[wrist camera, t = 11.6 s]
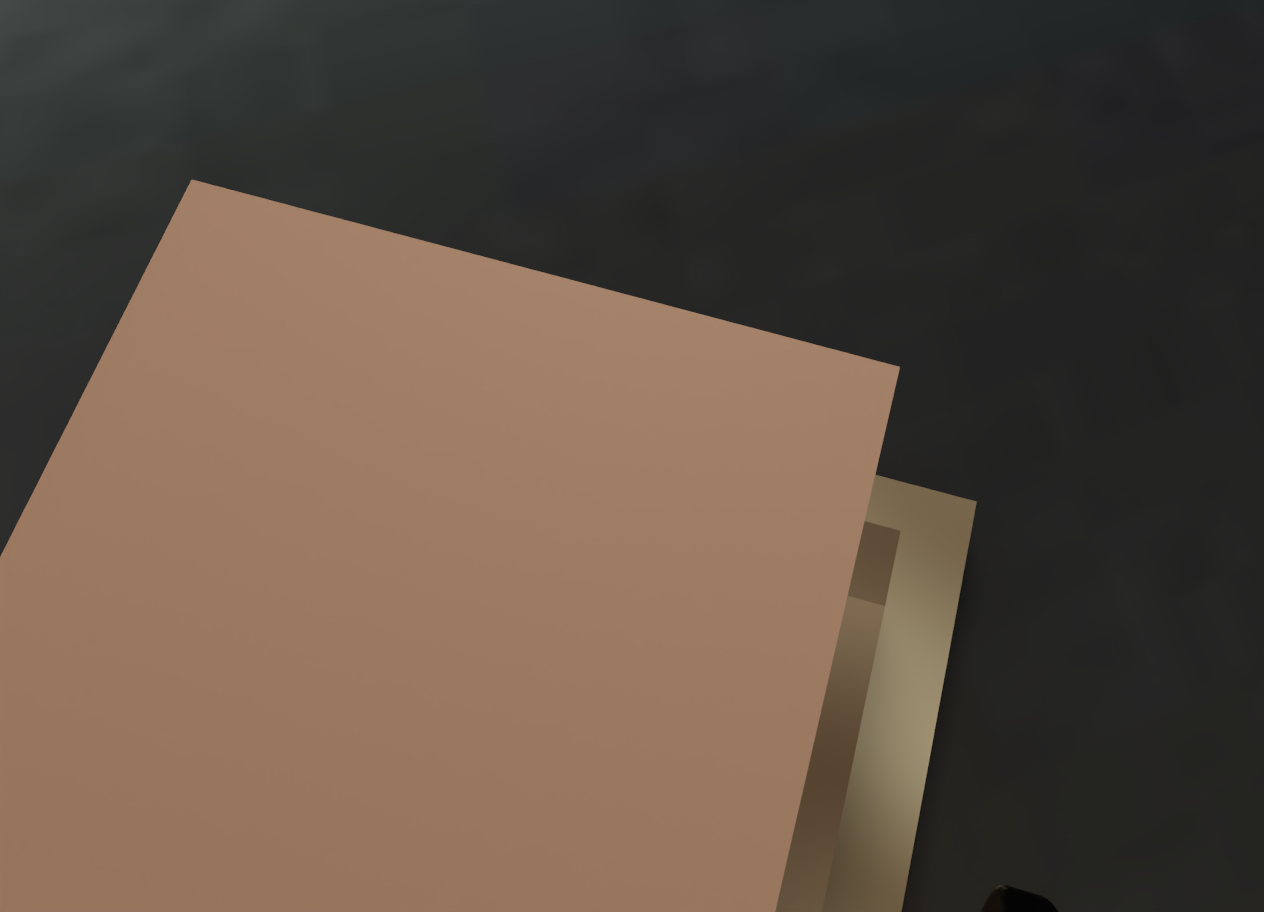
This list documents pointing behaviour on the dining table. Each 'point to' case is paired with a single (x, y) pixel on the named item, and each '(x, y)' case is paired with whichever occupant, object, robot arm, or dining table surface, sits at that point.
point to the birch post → (422, 589)
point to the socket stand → (880, 705)
